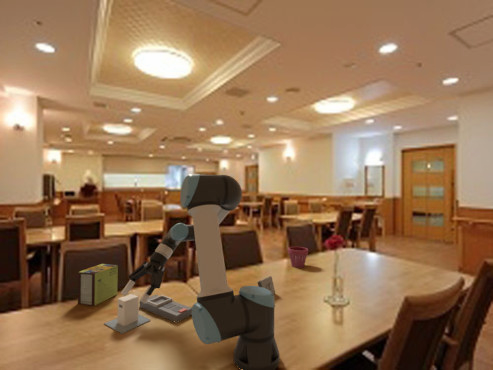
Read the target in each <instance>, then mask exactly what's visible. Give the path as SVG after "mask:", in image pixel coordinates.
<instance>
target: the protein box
mask: <svg viewBox="0 0 493 370" xmlns="http://www.w3.org/2000/svg"><path fill="white" fill-rule="evenodd" d="M118 266H119V265H117V264H109V263H108V264H107V263H101V264H98V265H94V266H92V267H91V266H90V267H88V268H86V269H83V270H80V271H78V273H77V276H78V277H77V303H78V305H79V304H80V305H87V306H92V307H93V306H94V307H95V306H97V305H100V304H101V303H103V302H105V301H108V300H109V299H111V298H113V297H114V296H117V295H118V281H119V279H118V277H119V276H118V275H119V272H118V271H119V270H118V269H119V267H118Z"/></svg>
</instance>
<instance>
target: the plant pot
mask: <svg viewBox="0 0 493 370" xmlns="http://www.w3.org/2000/svg"><path fill="white" fill-rule="evenodd" d="M287 253H288V254H289V259H290V264H291V265H290V266H291V267H293V268H300V269H301V268H305V264H306V259H307V256H308V255H309V249H308V248H307V247H303V246H288V248H287Z"/></svg>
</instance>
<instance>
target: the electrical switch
mask: <svg viewBox="0 0 493 370" xmlns="http://www.w3.org/2000/svg"><path fill="white" fill-rule="evenodd" d="M257 286H258V287H262V288H265V289H268V290H269V291H271V292H272V293H273V295H275V294H276V289H275V285H274V281H273V277H272V275H269V276H267V277H265V278H263V279H262V278H261V279H260V280H258V281H257Z"/></svg>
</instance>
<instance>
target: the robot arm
mask: <svg viewBox="0 0 493 370" xmlns="http://www.w3.org/2000/svg"><path fill="white" fill-rule="evenodd" d="M179 197H180V200H179V201H180V206H181V207H182V208H185V209H187V214H188V215H189V216H190V217H192V224H185V223H183V222H179V223H176V224H174V225H173V226H172V227H171V228H170V229H169V230H168V232H167V233H166V235H165V236H164V238H163V239H162V241H160V243H159V244H158V245H157V247H156V249H155V250H154V251H153V253H152V254H151V255H150V257H149V261H148V262H147V260H146V261H143V262H142V264H141V265H139V267H137V268H136V269H135V270H133V272H131V273H130V274H129V275H128V277H127V278H129V280H128V281H127V283H126V285H125V287H124V288H123V289H122V290H121V292H120V294H121V295H123V297H124V296H127V295H129V293H130V291H131V289H132V288H133V287H134V285H135V284H136V281H138V280H140V279H141V278H142V277H144V276H146V275H151V277H150V278H151V281H150V284H149V285H148V286H147V288H146V289H145V291H144V292H143V294H142V295H141V297H140V298H139V302H140V301H141V302H143V303H144V304H145V302H146V301H147V299H148V297H151V296H152V294H153V292H154V291H155V290H156V289H160V288H161V285H162V282H163V278H164V274H165V271H166V269H167V268H166V267H165V265H166V264H167V262H168V260H169V259H170V258H171V257H172V254H173V253H174V252H175V250H176V249H177V247H178V246H179V244H181V243H182V242H191V241H194V242H195V251H196V258H197V260H196V261H197V268H198V276H199V287H200V291H199V292H198V294H197V296H196V302H195V303H194V304H193V305H192V307H191V308H192V315H191V319H192V324H193V326H194V330H195V332H196V335H197V337H198V339H199V340H200V341H201V342H202V343H203V344H205V345H210V344H216V343H220V342H222V341H226V340H229V339H232V338H235V337H236V338H237V337H238V338H237V341H236V344H235V347H234V351H233V363H234V362H235V363H234V365H235V364H236V365H237V366H238V367H239V368H240V369H243V370H277V368H278V367H279V365H280V351H279V347H278V345H277V342H276V338H275V307H276V303H275V294H273V293H272V292H271V291H269V290H268V289H265V288H262V287H258V285H244V286H241V287H240V288H239V290H238V294H236V295H235V294H234V289H233V288H231V287H230V286H229V283H228V278H227V272H226V271H227V269H226V266H225V265H226V264H225V259H224V258H225V257H224V251H223V245H222V237H221V231H220V230H221V229H220V225H221V223H222V222H223V221H224V219H225V218H226V217H227V215H228V214H229V213H230V212H231V211H235V210H236V209H237V207H238V206H239V205H240V203H241V201H242V198H243V192H242V187H241V185H240V183H239V182H238V180H236V178H234V177H232V176H230V175H227V174H205V173H204V174H202V173H201V174H200V173H190V174H187V175H186V176H185V177H184V179H183V181H182V184H181V187H180V196H179ZM278 364H279V365H278ZM236 365H235V366H236ZM277 366H278V367H277ZM240 369H239V370H240Z"/></svg>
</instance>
